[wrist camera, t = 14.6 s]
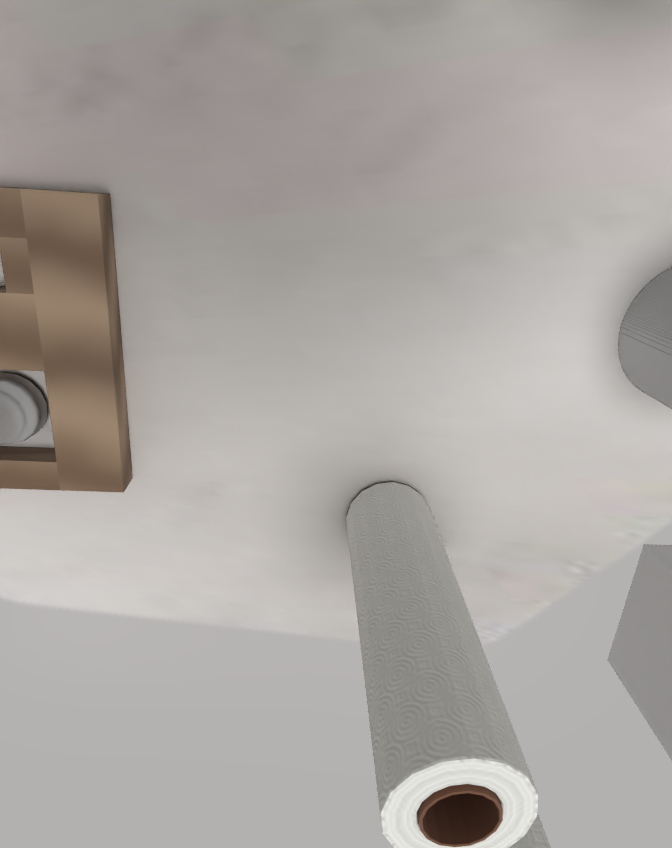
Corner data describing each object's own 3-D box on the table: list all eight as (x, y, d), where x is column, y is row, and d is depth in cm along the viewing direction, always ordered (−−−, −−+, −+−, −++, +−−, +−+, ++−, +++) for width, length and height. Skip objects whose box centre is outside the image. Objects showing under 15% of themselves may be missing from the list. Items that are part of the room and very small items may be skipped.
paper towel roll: (334, 493, 40) (360, 788, 20) (417, 469, 40) (527, 746, 20) (363, 573, 43) (410, 903, 23) (441, 551, 42) (557, 867, 23)
